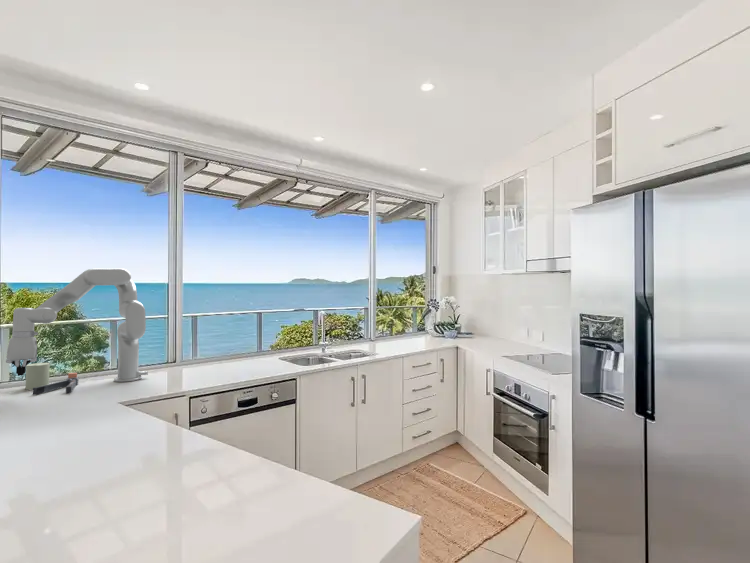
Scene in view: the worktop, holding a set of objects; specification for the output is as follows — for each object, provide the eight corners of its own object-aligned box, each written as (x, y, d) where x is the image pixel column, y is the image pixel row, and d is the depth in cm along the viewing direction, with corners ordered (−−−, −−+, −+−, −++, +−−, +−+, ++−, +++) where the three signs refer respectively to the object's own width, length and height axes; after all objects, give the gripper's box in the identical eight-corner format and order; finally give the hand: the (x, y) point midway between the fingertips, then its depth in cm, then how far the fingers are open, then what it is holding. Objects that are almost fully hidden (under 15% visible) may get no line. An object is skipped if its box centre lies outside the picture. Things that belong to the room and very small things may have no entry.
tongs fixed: (67, 384, 206) (67, 377, 206) (78, 383, 209) (78, 376, 209) (59, 394, 186) (59, 387, 186) (71, 393, 188) (71, 385, 188)
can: (20, 390, 194) (21, 365, 194) (31, 386, 203) (32, 362, 203) (43, 389, 196) (44, 364, 196) (53, 385, 205) (53, 361, 205)
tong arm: (66, 385, 202) (66, 379, 202) (69, 385, 202) (69, 379, 202) (32, 394, 184) (32, 388, 185) (36, 394, 184) (36, 388, 184)
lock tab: (68, 377, 207) (69, 373, 207) (77, 376, 208) (77, 372, 208) (68, 378, 205) (68, 374, 205) (76, 377, 206) (76, 373, 206)
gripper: (45, 333, 193) (43, 372, 192) (4, 334, 185) (1, 375, 184) (42, 335, 186) (39, 375, 185) (-1, 335, 179) (-4, 377, 178)
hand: (20, 375), depth 185 cm, fingers closed
